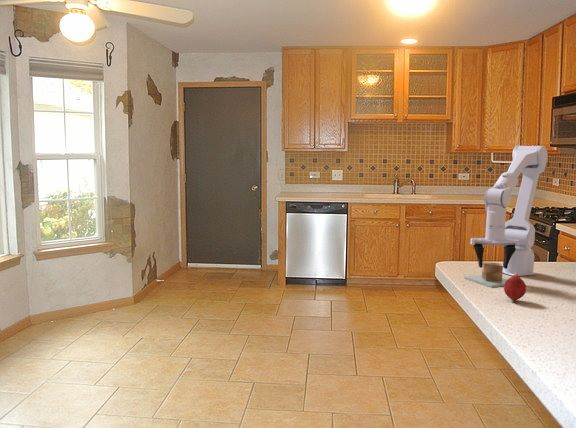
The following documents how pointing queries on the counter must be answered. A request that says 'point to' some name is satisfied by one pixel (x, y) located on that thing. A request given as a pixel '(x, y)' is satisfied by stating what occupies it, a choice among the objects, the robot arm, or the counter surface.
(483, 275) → the walnut cube
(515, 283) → the onion
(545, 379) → the counter surface
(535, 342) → the counter surface
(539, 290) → the counter surface
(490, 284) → the ceramic tile
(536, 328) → the counter surface
